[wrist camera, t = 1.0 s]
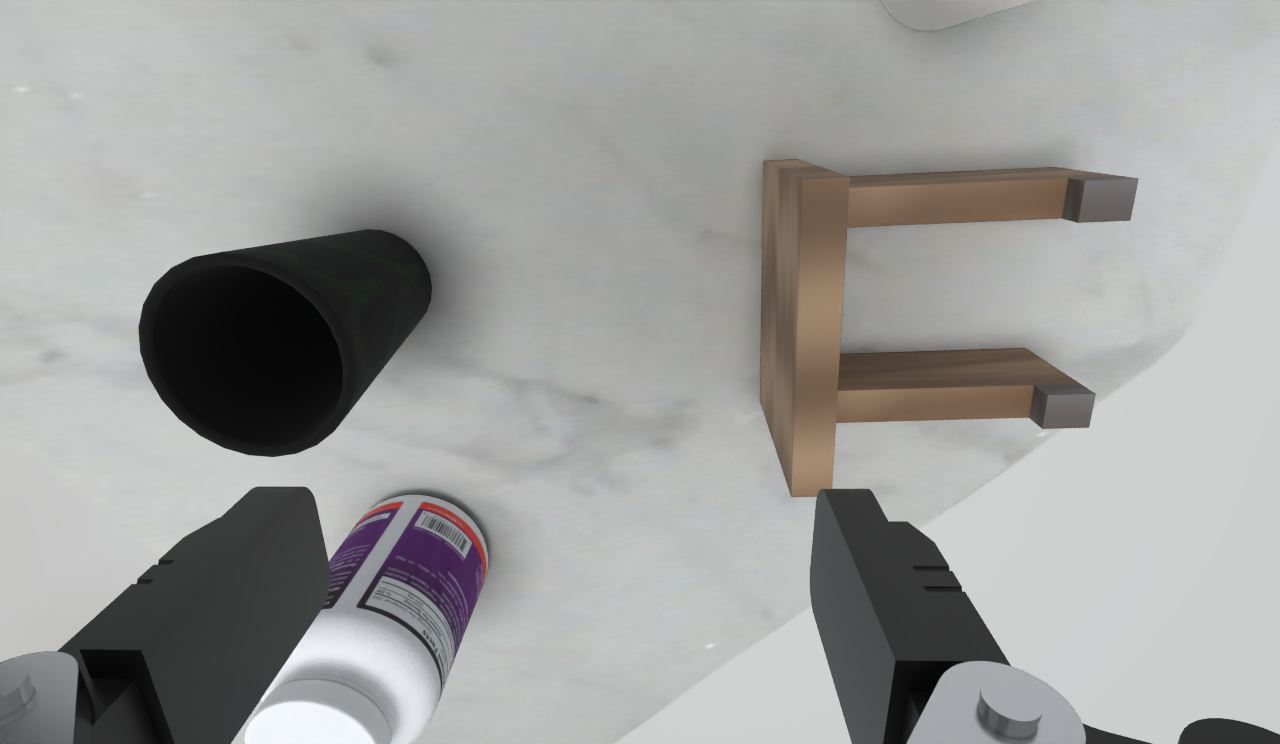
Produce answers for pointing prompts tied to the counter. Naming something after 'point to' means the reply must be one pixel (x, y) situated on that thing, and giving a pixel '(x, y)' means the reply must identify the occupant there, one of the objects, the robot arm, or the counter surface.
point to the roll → (943, 11)
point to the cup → (280, 335)
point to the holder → (901, 381)
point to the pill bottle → (380, 630)
